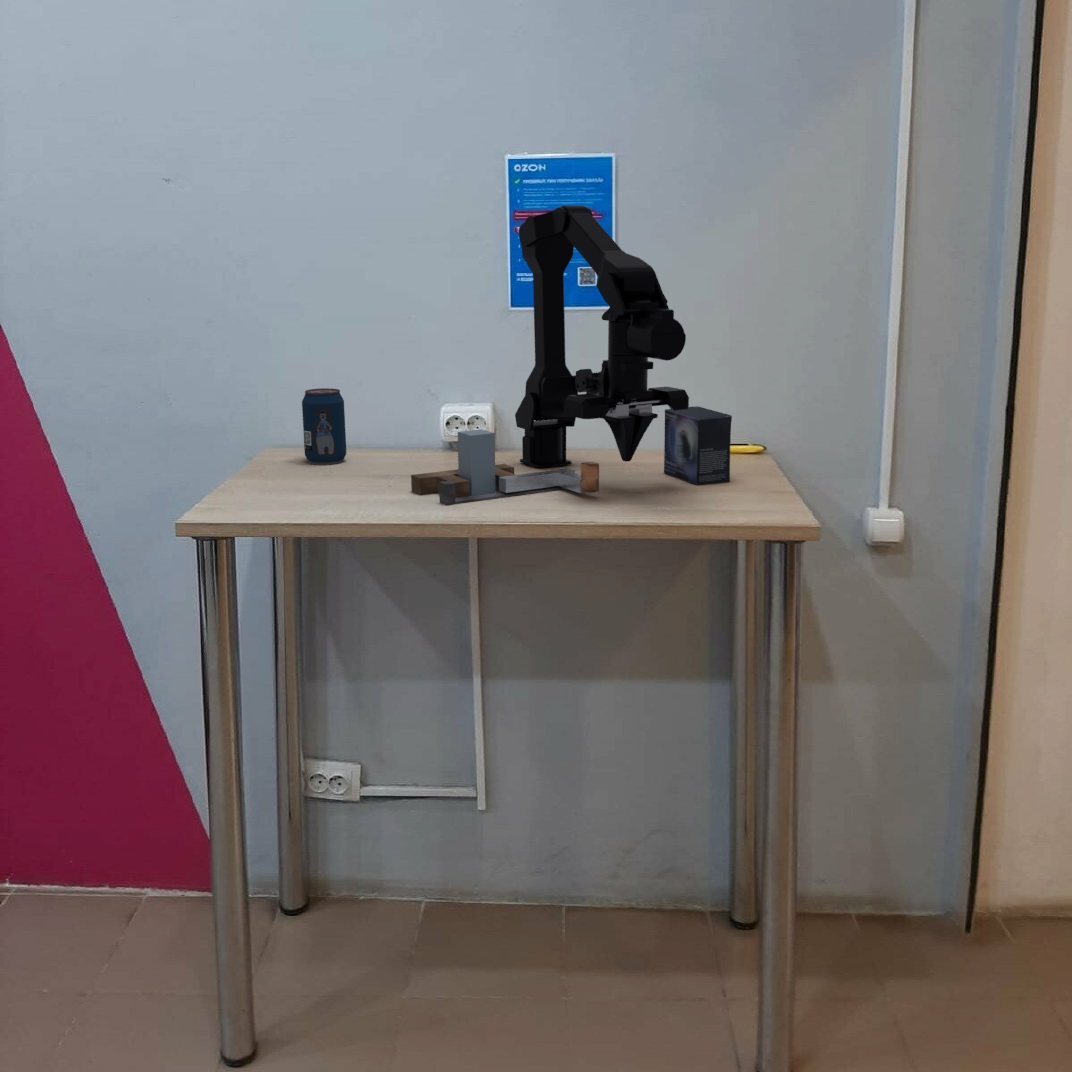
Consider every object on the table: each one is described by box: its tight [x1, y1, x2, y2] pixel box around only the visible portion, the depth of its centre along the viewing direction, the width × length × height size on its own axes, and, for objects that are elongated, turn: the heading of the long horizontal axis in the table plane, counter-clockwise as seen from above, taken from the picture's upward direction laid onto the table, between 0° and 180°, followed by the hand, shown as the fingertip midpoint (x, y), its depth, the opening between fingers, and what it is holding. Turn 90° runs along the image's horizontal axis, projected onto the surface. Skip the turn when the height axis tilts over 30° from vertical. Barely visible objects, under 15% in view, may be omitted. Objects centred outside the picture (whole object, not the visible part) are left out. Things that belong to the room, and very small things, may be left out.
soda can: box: [301, 387, 347, 465], centre depth 196 cm, size 7×7×12 cm
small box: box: [663, 405, 733, 486], centre depth 182 cm, size 11×6×10 cm, turn 23°
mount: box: [410, 463, 567, 506], centre depth 175 cm, size 22×11×3 cm, turn 121°
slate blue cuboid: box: [457, 428, 497, 496], centre depth 173 cm, size 4×4×9 cm
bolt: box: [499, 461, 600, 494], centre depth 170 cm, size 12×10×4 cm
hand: (626, 460), depth 172 cm, fingers closed
